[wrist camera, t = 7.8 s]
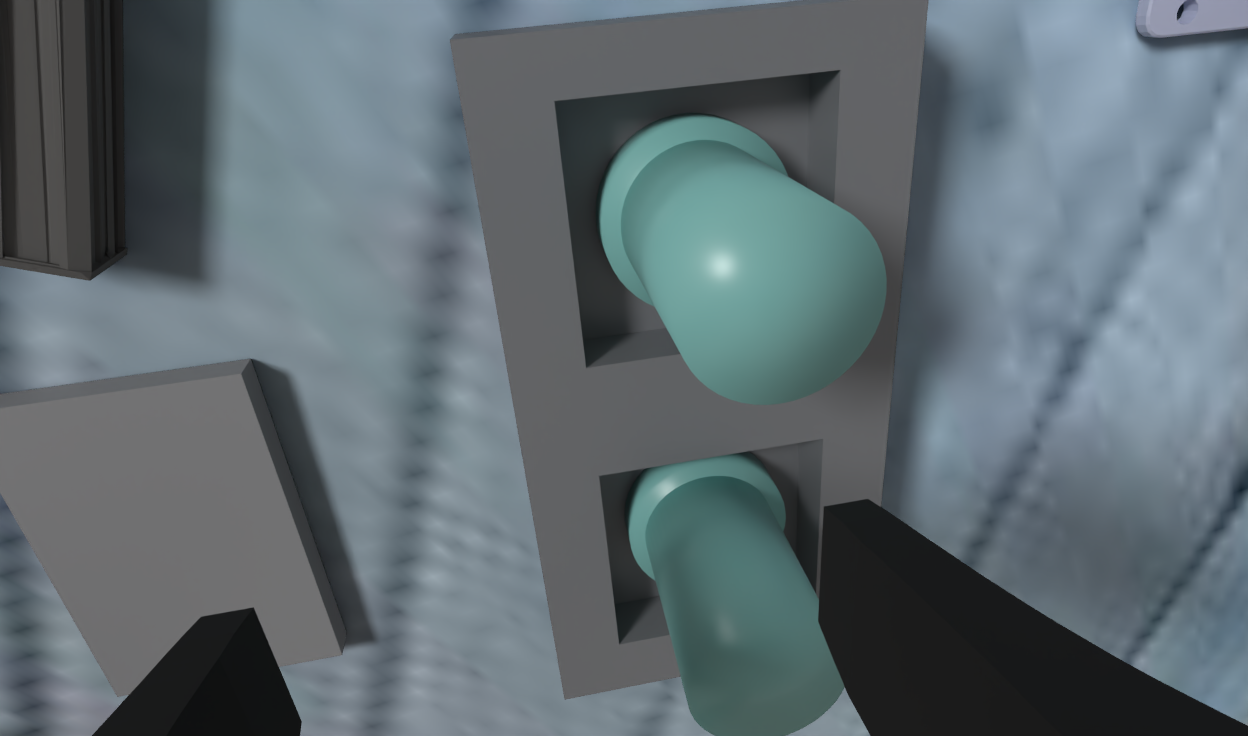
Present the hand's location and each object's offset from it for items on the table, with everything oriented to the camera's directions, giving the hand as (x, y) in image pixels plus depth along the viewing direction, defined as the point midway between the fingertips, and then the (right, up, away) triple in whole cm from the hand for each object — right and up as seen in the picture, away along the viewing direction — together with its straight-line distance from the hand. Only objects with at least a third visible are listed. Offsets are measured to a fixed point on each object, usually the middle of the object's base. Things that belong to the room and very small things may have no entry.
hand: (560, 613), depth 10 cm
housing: (+2, +3, +10) cm, 11 cm away
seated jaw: (+2, +7, +8) cm, 11 cm away
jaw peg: (+3, -1, +11) cm, 11 cm away
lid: (-11, -1, +10) cm, 14 cm away
